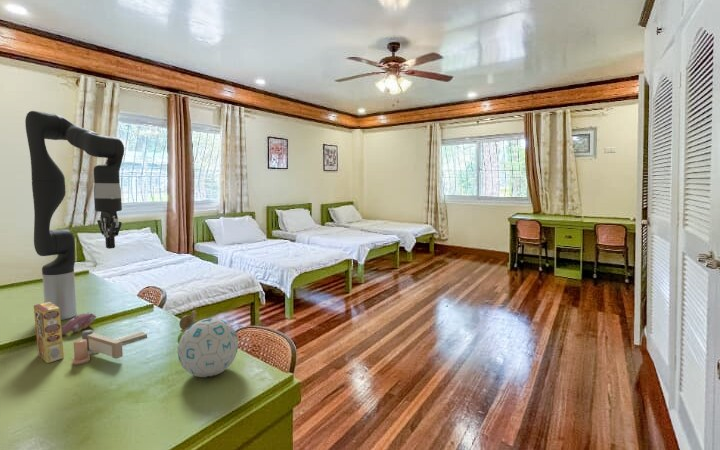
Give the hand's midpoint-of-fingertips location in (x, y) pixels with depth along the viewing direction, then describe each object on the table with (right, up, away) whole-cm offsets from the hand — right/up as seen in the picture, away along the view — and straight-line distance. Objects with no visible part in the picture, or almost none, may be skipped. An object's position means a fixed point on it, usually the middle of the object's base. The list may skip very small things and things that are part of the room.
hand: (110, 248), depth 124 cm
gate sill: (+7, -30, -8) cm, 32 cm away
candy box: (-6, -31, -17) cm, 36 cm away
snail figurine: (+30, -31, -8) cm, 44 cm away
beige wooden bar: (+9, -30, -16) cm, 35 cm away
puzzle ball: (+43, -33, -24) cm, 60 cm away
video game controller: (-13, -29, +3) cm, 32 cm away
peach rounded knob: (+5, -31, -19) cm, 37 cm away
